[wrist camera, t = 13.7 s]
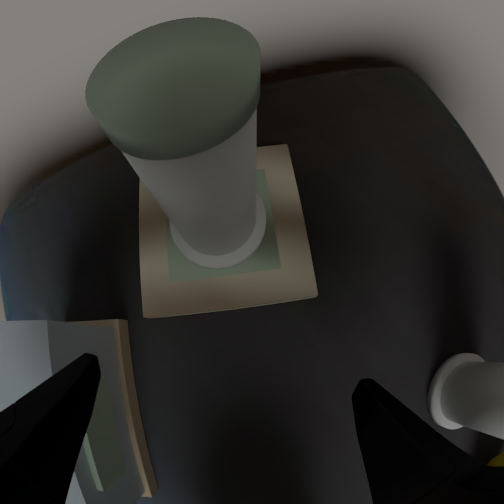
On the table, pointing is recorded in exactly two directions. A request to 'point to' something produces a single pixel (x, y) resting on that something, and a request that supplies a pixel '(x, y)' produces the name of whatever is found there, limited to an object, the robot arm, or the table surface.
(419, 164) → the table surface
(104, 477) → the block
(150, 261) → the pad
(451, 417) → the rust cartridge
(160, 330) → the table surface
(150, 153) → the knob
